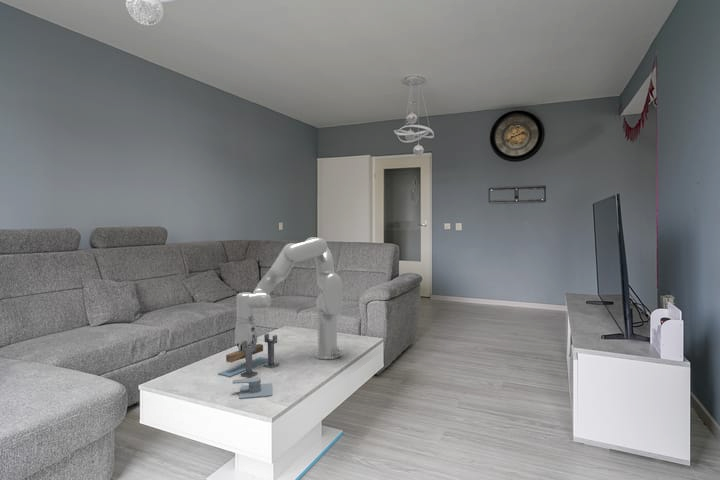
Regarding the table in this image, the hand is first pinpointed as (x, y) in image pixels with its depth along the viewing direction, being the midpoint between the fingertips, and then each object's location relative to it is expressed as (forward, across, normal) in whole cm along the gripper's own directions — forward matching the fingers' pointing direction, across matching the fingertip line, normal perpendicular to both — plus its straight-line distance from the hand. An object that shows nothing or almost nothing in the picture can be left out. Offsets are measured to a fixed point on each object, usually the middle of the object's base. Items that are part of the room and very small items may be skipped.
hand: (245, 358), depth 192 cm
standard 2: (+4, -9, -7) cm, 12 cm away
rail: (-1, 0, 0) cm, 1 cm away
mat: (+4, 0, 0) cm, 4 cm away
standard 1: (+4, -9, +7) cm, 12 cm away
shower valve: (+5, -24, +19) cm, 31 cm away
